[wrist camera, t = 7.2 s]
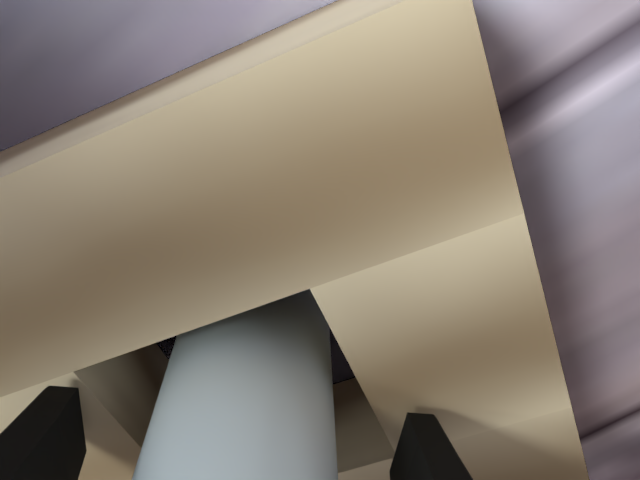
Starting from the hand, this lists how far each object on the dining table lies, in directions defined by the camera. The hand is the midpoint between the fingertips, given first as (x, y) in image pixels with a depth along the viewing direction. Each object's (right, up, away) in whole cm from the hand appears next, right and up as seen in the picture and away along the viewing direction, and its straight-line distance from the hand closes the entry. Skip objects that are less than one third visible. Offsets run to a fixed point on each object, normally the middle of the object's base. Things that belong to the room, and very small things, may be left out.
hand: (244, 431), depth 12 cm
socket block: (0, +2, +3) cm, 3 cm away
